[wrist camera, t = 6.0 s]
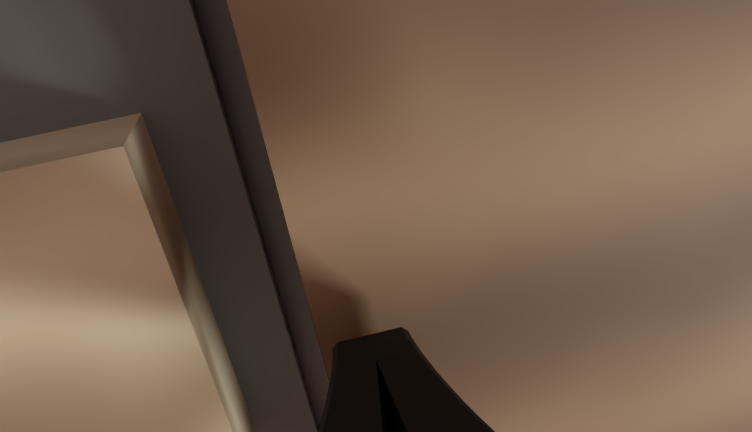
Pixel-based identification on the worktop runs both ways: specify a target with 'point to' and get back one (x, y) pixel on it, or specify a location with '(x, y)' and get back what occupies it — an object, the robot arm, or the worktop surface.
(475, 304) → the butcher block
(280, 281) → the worktop surface
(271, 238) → the worktop surface
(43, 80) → the mat
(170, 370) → the tile
